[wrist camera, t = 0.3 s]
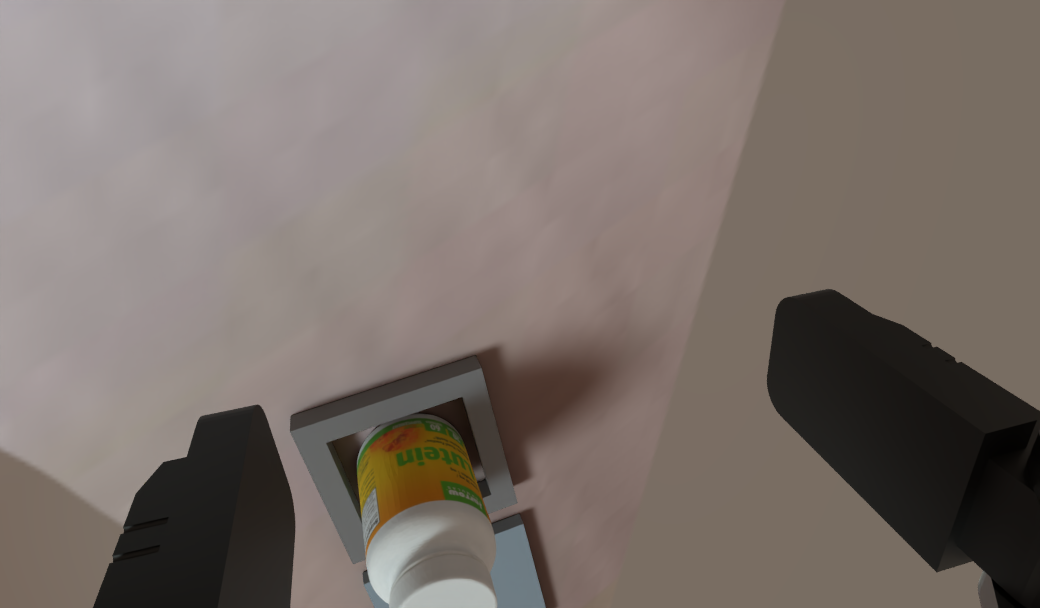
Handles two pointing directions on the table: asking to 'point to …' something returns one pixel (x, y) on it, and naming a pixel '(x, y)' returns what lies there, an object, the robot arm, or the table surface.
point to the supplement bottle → (424, 517)
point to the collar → (386, 405)
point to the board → (503, 569)
